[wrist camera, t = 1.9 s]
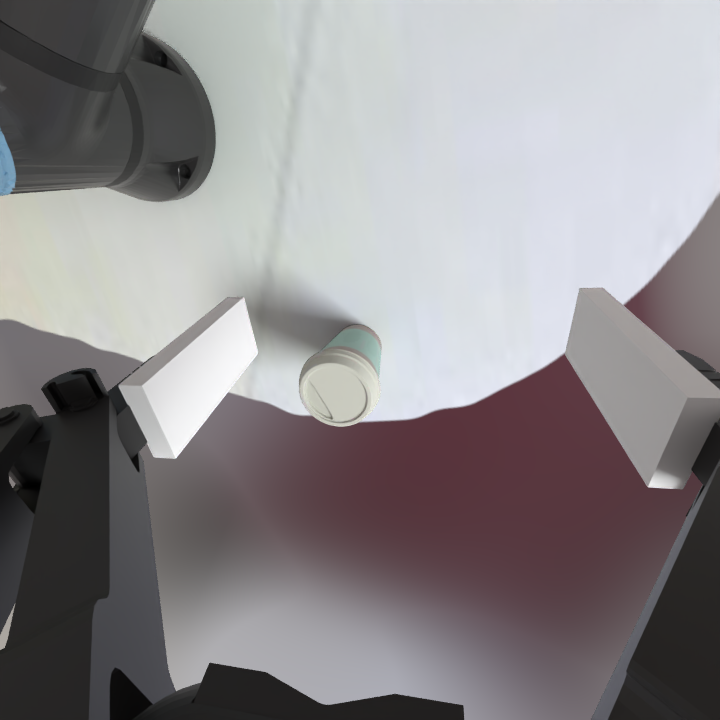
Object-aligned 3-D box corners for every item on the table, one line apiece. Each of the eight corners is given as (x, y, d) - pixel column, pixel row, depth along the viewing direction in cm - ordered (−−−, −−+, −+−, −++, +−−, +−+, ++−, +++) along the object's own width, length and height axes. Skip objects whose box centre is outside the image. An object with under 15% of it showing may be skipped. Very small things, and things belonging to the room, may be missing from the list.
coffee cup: (327, 309, 46) (292, 351, 35) (395, 318, 44) (381, 364, 34) (325, 369, 50) (294, 423, 39) (388, 379, 49) (373, 437, 38)
